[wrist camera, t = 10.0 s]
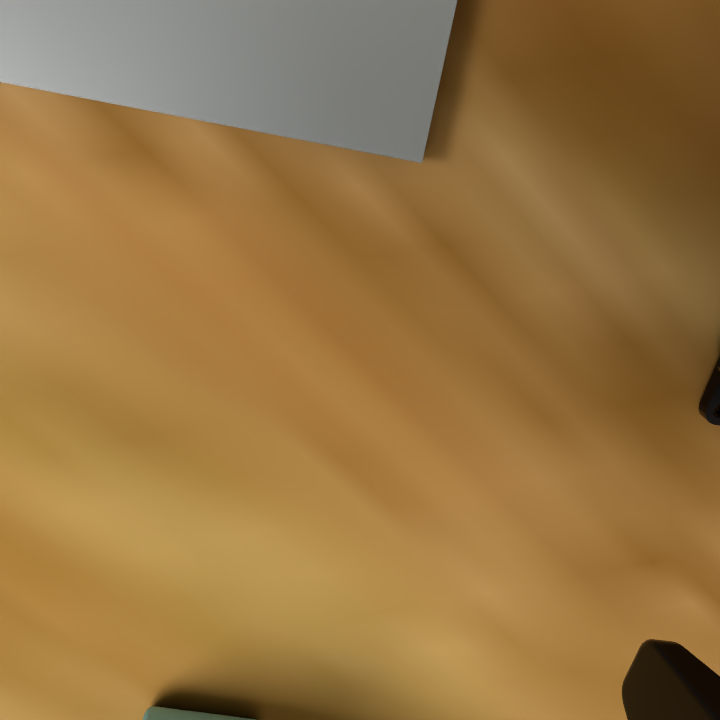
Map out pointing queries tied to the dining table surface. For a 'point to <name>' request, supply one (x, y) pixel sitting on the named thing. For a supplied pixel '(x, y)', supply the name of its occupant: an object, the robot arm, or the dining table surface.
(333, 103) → the header board
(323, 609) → the dining table surface
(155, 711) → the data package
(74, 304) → the dining table surface
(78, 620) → the dining table surface
